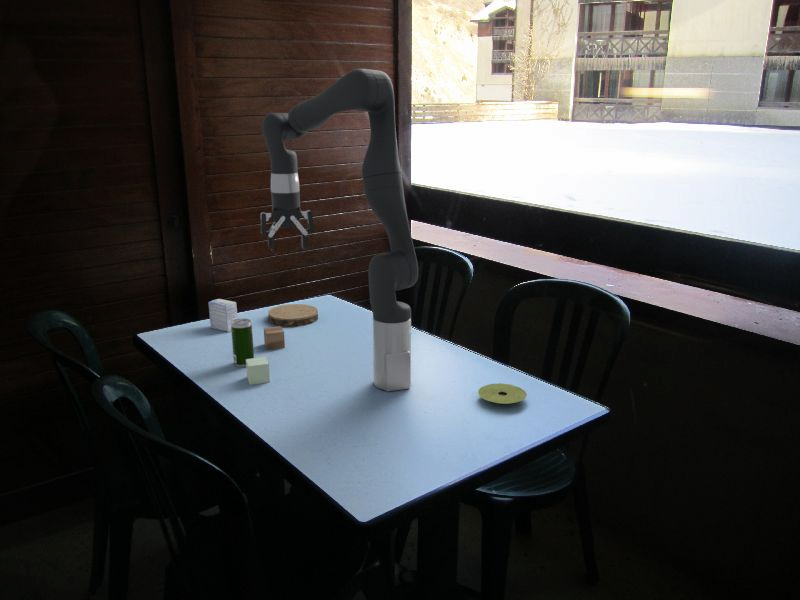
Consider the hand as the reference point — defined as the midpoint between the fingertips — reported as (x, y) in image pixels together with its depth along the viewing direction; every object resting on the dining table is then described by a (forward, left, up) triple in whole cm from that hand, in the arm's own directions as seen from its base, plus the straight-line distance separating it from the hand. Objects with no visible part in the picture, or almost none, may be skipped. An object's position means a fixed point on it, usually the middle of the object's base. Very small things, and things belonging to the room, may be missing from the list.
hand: (288, 249), depth 181 cm
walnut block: (+2, +5, -29) cm, 29 cm away
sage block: (-21, +13, -29) cm, 38 cm away
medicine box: (+23, +17, -29) cm, 41 cm away
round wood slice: (+25, -5, -29) cm, 39 cm away
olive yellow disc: (-53, -39, -29) cm, 72 cm away
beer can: (-9, +15, -29) cm, 33 cm away
